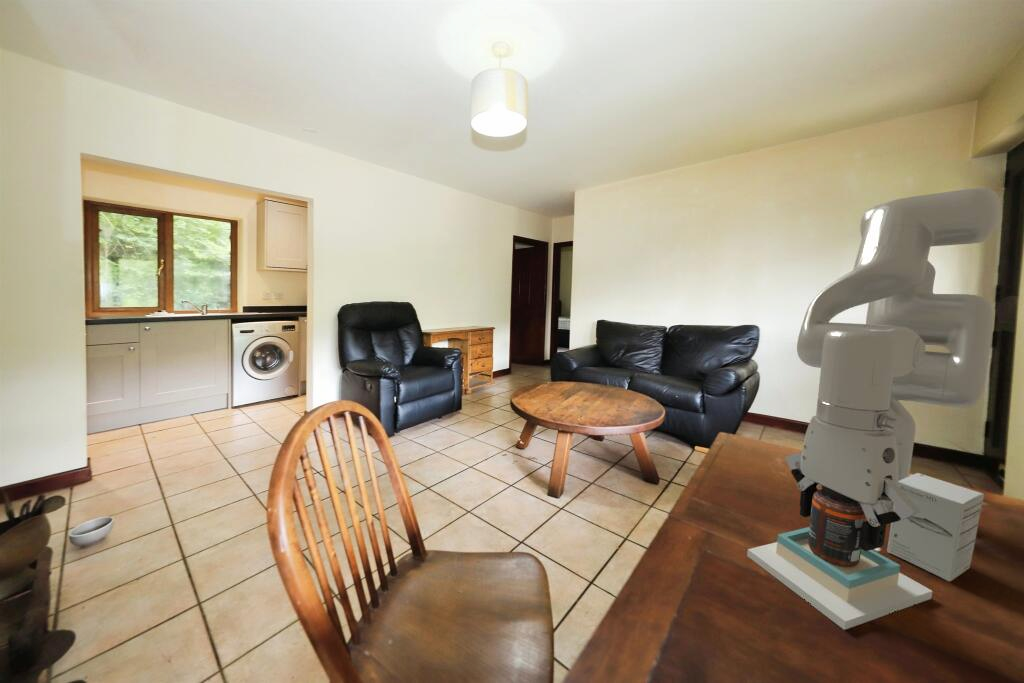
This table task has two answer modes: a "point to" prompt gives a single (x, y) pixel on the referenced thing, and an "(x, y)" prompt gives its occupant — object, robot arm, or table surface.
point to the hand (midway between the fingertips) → (837, 529)
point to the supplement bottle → (835, 527)
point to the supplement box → (937, 526)
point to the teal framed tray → (839, 580)
